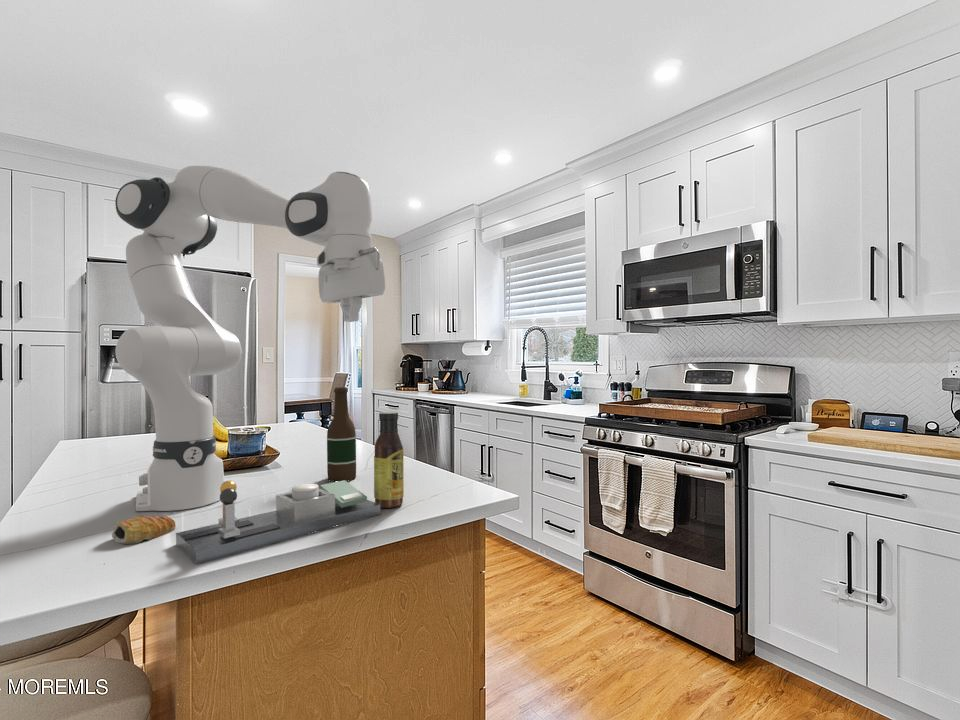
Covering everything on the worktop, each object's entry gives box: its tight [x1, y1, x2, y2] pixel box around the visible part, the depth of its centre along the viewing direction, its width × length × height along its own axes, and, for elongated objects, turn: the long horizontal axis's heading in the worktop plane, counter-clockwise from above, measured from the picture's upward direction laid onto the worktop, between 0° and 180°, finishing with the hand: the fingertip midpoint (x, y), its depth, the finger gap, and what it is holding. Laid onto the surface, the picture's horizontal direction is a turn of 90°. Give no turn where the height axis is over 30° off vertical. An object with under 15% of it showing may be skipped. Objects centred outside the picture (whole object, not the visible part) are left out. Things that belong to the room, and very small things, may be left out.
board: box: [175, 487, 381, 565], centre depth 93 cm, size 12×34×6 cm, turn 135°
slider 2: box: [218, 488, 240, 538], centre depth 83 cm, size 3×3×8 cm
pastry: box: [111, 515, 177, 545], centre depth 91 cm, size 9×7×4 cm
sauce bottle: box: [373, 411, 405, 509], centre depth 108 cm, size 7×6×20 cm
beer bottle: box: [326, 386, 357, 482], centre depth 132 cm, size 8×8×24 cm
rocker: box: [319, 480, 368, 508], centre depth 102 cm, size 9×6×1 cm, turn 45°
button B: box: [291, 483, 320, 501], centre depth 96 cm, size 5×5×4 cm
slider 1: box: [218, 480, 240, 526], centre depth 88 cm, size 3×3×8 cm
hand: (351, 321), depth 102 cm, fingers closed
